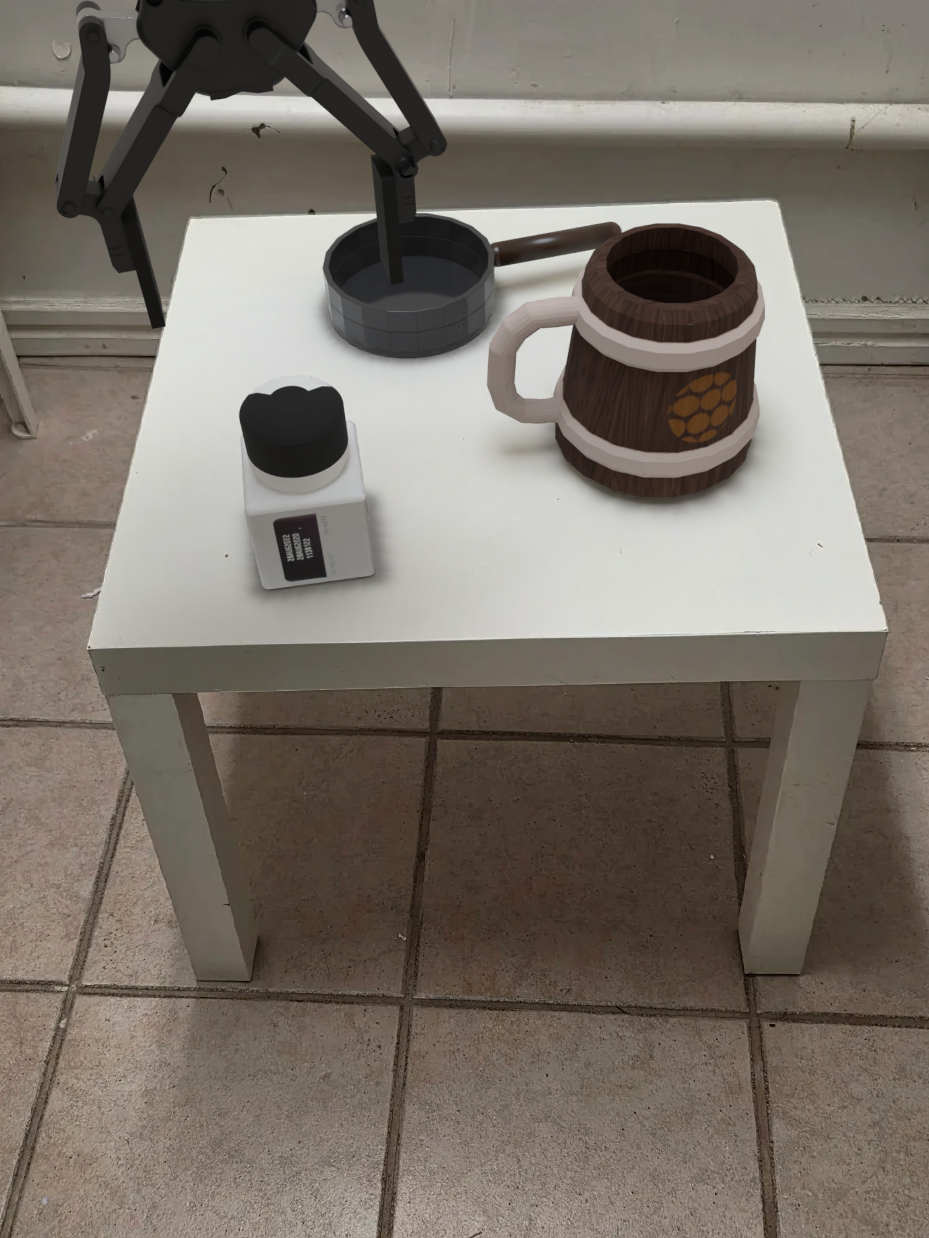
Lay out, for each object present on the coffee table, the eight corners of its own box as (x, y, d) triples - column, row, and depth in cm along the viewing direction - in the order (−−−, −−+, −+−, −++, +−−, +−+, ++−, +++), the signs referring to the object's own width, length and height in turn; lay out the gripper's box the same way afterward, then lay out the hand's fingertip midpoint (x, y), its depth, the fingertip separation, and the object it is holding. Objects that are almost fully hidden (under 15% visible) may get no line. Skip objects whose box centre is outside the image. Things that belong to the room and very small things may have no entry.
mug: (724, 364, 95) (754, 192, 83) (777, 496, 85) (818, 323, 74) (476, 388, 94) (471, 217, 82) (501, 524, 84) (499, 353, 73)
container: (376, 577, 81) (357, 433, 71) (263, 592, 81) (228, 449, 71) (364, 499, 86) (346, 353, 76) (258, 512, 86) (225, 368, 76)
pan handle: (488, 274, 99) (488, 253, 98) (482, 260, 101) (481, 239, 99) (624, 248, 101) (626, 228, 100) (616, 236, 102) (618, 215, 101)
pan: (347, 372, 96) (341, 325, 92) (316, 274, 104) (309, 229, 101) (515, 339, 98) (515, 293, 94) (469, 247, 106) (468, 201, 103)
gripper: (457, -186, 56) (469, 220, 72) (-93, -117, 52) (51, 294, 68) (502, -131, 51) (504, 290, 67) (-99, -51, 47) (57, 373, 64)
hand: (276, 292), depth 68 cm, fingers open, 13 cm apart
